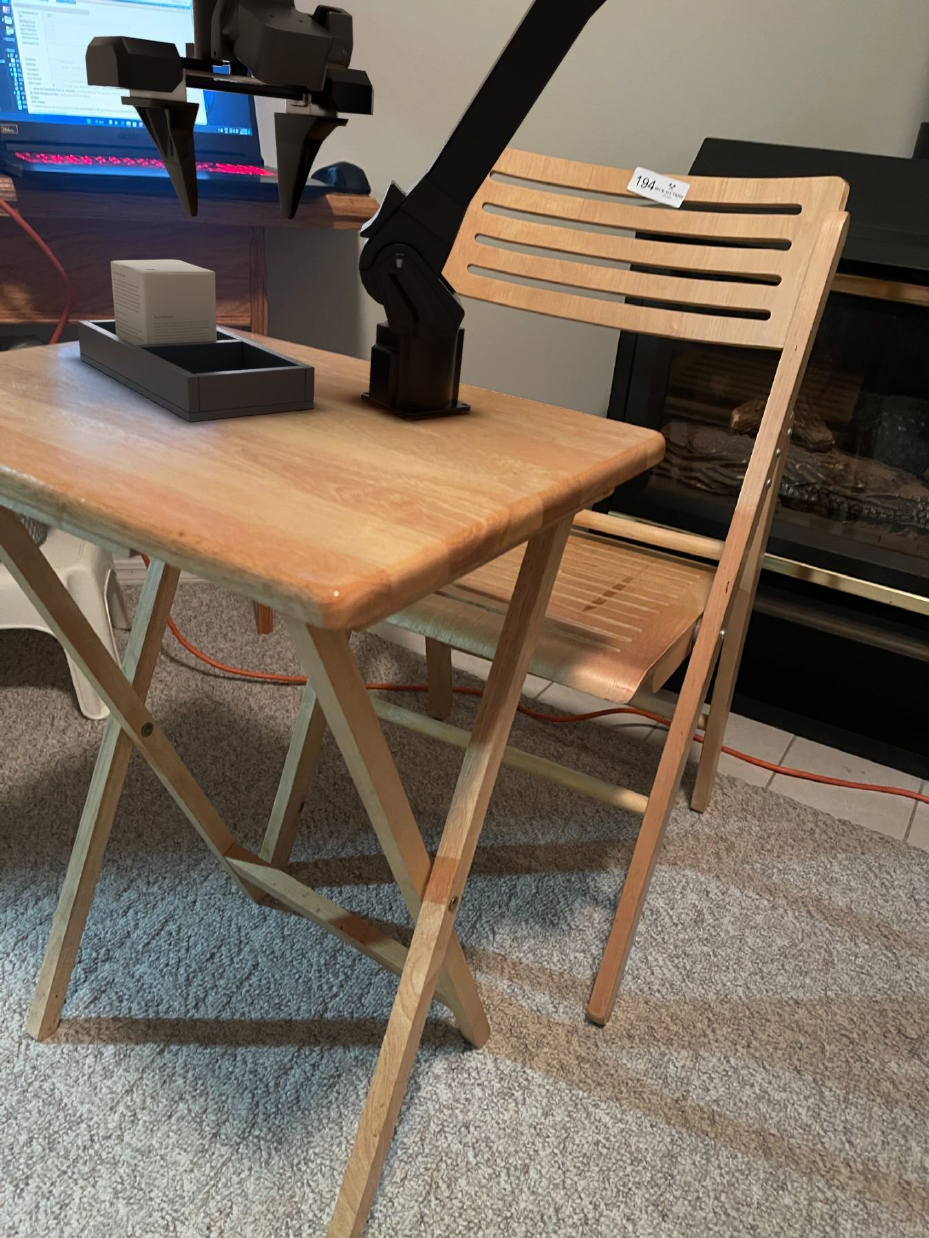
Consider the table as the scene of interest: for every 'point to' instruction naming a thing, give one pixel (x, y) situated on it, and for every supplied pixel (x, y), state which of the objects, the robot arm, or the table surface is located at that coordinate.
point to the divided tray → (201, 373)
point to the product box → (163, 301)
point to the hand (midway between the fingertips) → (241, 218)
